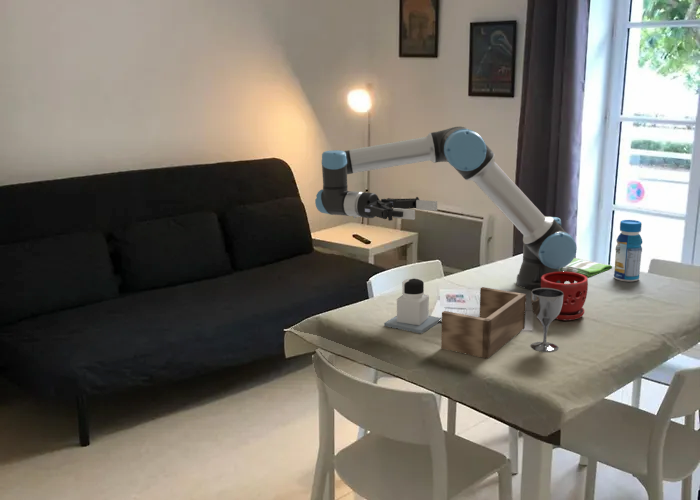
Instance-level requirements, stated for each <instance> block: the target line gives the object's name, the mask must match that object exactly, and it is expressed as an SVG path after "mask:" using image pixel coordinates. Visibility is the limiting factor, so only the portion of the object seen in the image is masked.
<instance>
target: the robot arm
mask: <svg viewBox="0 0 700 500" xmlns="http://www.w3.org/2000/svg"><path fill="white" fill-rule="evenodd" d="M427 161H428V162H429V161H431V163H434V164H436V163H443V162H444V163H445V162H446V163H448V164H449V165H450V166H451V167H452V168H453V169H455V170H456V171H457V172H458V173H459V175H460V176H461V177H462V178H463V179H464V180H465V181H473V182H474V183H475V184H476V185H477V187H478V188H479V189H480V190H481V191H482V192H483V193H484V194H485V195H486V197H488V199H489V200H490V201H491V202H492V203H493V204H494V205H495V206H496V207H497V208H498V209H499V211H501V212H502V213H503V215H505V217H506V218H507V219H508V220H509V221H510V222H511V223H512V224H513V225H514V227H515V228H516V229H517V230H518V231H520V233H521V234H522V235H523V237H522V242H523V248H522V262H521V266H520V268H519V271H518V274H517V275H516V281H515V282H516V285H517V286H518V287H520V288H522V289H525V290H531V291H532V290H534V289H537V288H541V277H542V276H543V275H544V274H547V273H551V272H561V270H560V268H563V267H565V266H567V265H568V264H569V263H571V261H572V260H573V259H574V258H575V257H576V254H577V243H576V241H575V239H574V237H573V236H572V235H571V234H570V233H568V232H567V231H566V230H564V229H563V227H562V220H561V218H559V217H556V216H546V215H544V214H543V213H542V212H541V210H540V209H539V208H538V207H537V206H536V205H535V204H534V203H533V201H531V200H530V198H529V197H528V196H527V195H526V194H525V193H524V192H523V190H521V189H520V187H518V185H517V184H516V183H515V182H514V181H513V180H512V179H511V178H510V177H509V175H508V174H507V173H506V172H505V171H504V170H503V169H502V168H501V166H499V164H498V163H497V162H496V161H495V152H494V151H493V150H492V149H491V148H490V147H489V146H488V145H487V143H486V142H485V141H484V139H483V137H482V136H481V135H480V134H479V133H478V132H476V131H475V130H473V129H469V128H467V127H466V126H465V127H464V126H454V127H449V128H446V129H443V130H438V131H433V132H429V133H428V134H427V135H426V136H423V137H418V138H413V139H407V140H401V141H394V142H390V143H383V144H377V145H371V146H366V147H365V146H364V147H359V148H354V149H349V150H341V149H340V150H338V149H337V150H336V149H335V150H334V149H333V150H332V149H331V150H325V151H323V152H322V154H321V171H322V173H321V174H322V184H323V185H322V189H320V190H318V191H317V193H316V195H315V196H316V198H315V203H314V204H315V208H316V209H317V211H318V212H320V213H322V214H327V215H332V216H334V215H335V216H345V217H346V216H347V217H353V219H357V218H363V219H365V218H366V219H374V218H375V217H376V218H379V219H382V220H383V219H384V220H387V219H388V221H393V219H400V220H401V219H403V220H413V221H414V220H415V219H416V210H421V211H432V212H433V211H434V212H437V211H438V201H436V200H425V199H420V198H419V197H418V196H415V198H391V197H388V198H381V200H380V199H379V196H378V194H377V193H375V192H364V191H354V190H353V191H352V190H351V191H350V190H348V189H349V188H348V175H351V174H356V173H361V172H368V171H375V170H380V169H386V168H392V167H393V168H394V167H398V166H399V167H400V166H404V165H409V164H416V163H417V164H418V163H423V162H427ZM415 209H416V210H415ZM556 283H560V281H557V282H556Z"/></svg>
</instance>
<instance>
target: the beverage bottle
mask: <svg viewBox="0 0 700 500" xmlns="http://www.w3.org/2000/svg"><path fill="white" fill-rule="evenodd" d="M641 231H642V222H641V221H640V220H636V219H622V220H621V221H620V223H619V232H620V233H619V235H618V236H617V238H616V243H617V244H616V246H615V259H614V260H615V261H614V269H613V270H614V274H613V277H614V279H615V280H617V281H621V282H632V283H633V282H637V281H638V280H639V279H640V271H641V262H642V252H643V247H642V244H643V239H642V237H641V234H640V233H641Z"/></svg>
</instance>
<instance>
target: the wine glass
mask: <svg viewBox="0 0 700 500" xmlns="http://www.w3.org/2000/svg"><path fill="white" fill-rule="evenodd" d="M530 296H531V297H530V299H531V300H530V301H531V302H530V303H531V308H532V312H533V314H534V316H535V317H536V318H537V319H538V320H539V321H540V323H541V327H542V329H543V338H542V339H543V340H542V341H537V342H532V343H531V344H530V349H532V350H534V351H537V352H541V351H542V353H552V352H556V351H558V350H559V346H558V345H557V344H555V343H553V342H548V341H547V336H548V331H549V326H550V325H551V323H552V322H553V321H555V320H556V319H555V318H556V317H557V316H558V315H559V314H560V311H561V308H562V304H563V292H562V291H560V290H557V289H553V288H537V289H534V290H531V294H530Z"/></svg>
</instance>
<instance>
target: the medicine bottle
mask: <svg viewBox="0 0 700 500" xmlns="http://www.w3.org/2000/svg"><path fill="white" fill-rule="evenodd" d="M424 284H425V283H424V281H423V280H421V279H418V278H408V279H404V280H403V281H402V287H401V288H402V289H401V293H402V294H401V295H400V296H399V297H398V298H397V299H396V316H397V322H399V323H406V324H412V325H421V324H422V323H423V322H424V321H425V320H427V319H428V316H430V314H429V312H430V311H429V308H430V307H429V305H430V302H429V300H430V296H429V294H424V291H425V290H424V289H425V288H424V287H425V285H424Z"/></svg>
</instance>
